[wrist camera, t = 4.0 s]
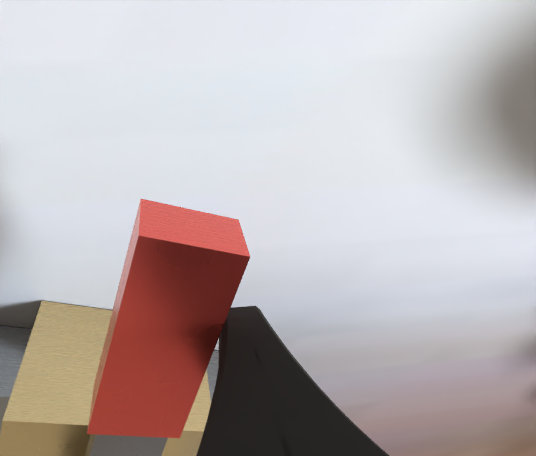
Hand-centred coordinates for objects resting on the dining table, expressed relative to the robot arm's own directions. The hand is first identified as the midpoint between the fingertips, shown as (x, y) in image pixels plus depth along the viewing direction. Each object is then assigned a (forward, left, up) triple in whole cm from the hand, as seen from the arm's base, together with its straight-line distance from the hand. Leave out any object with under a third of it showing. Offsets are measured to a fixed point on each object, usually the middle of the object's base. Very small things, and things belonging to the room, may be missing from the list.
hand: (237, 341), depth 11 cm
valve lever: (-3, +2, 0) cm, 4 cm away
